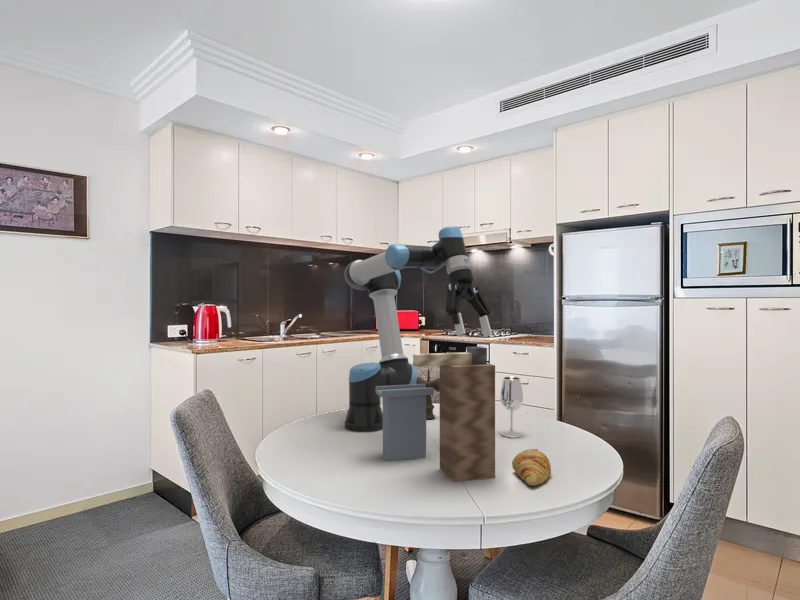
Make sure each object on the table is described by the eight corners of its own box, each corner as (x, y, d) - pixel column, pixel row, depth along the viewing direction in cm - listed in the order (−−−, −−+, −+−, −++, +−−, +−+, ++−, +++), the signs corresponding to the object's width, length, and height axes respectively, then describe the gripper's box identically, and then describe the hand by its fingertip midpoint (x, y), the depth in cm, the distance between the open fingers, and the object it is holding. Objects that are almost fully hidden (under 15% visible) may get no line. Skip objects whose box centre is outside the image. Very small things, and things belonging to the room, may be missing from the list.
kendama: (417, 416, 202) (417, 367, 202) (441, 417, 200) (441, 367, 200) (415, 419, 196) (415, 369, 196) (439, 420, 194) (439, 369, 194)
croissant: (544, 504, 124) (559, 477, 123) (507, 482, 126) (522, 456, 125) (540, 473, 145) (553, 450, 143) (509, 455, 146) (522, 432, 145)
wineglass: (521, 432, 178) (521, 376, 177) (524, 438, 170) (524, 380, 170) (499, 431, 178) (499, 376, 178) (501, 437, 171) (501, 379, 170)
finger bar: (417, 367, 129) (417, 350, 129) (412, 365, 134) (412, 348, 134) (486, 364, 135) (486, 348, 135) (479, 362, 139) (479, 346, 139)
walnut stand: (453, 481, 129) (453, 367, 129) (439, 469, 139) (439, 362, 139) (495, 477, 133) (495, 365, 133) (478, 465, 142) (478, 360, 142)
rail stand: (382, 462, 144) (382, 390, 144) (375, 454, 152) (375, 386, 152) (433, 457, 149) (433, 388, 149) (424, 450, 157) (424, 383, 157)
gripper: (442, 262, 148) (458, 330, 141) (491, 272, 165) (507, 333, 159) (424, 271, 152) (439, 337, 146) (473, 280, 170) (488, 340, 164)
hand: (475, 335), depth 152 cm, fingers open, 13 cm apart
